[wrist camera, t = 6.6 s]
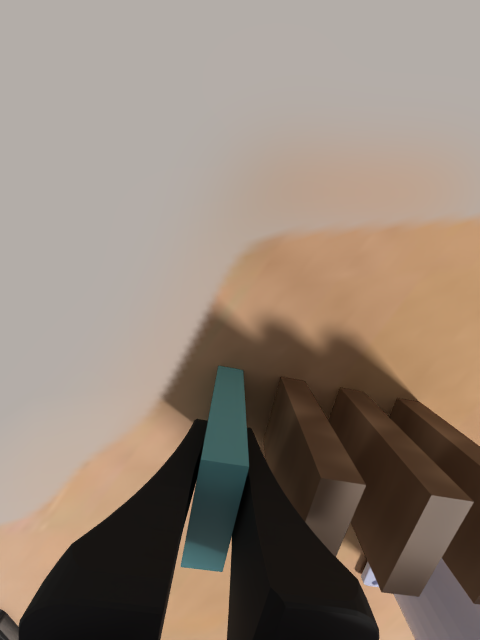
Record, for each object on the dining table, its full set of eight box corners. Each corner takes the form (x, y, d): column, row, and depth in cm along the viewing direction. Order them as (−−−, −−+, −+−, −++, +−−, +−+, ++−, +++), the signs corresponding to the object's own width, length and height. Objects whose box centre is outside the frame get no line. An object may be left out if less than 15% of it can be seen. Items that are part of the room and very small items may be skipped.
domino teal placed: (243, 369, 14) (249, 466, 7) (228, 435, 15) (222, 571, 8) (218, 365, 14) (200, 459, 7) (205, 431, 15) (180, 567, 8)
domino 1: (304, 381, 14) (366, 485, 8) (285, 444, 15) (323, 585, 9) (280, 376, 14) (321, 478, 7) (263, 441, 15) (284, 579, 9)
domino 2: (363, 391, 15) (473, 501, 8) (340, 453, 16) (419, 597, 9) (340, 387, 14) (431, 495, 8) (318, 450, 16) (381, 592, 9)
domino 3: (419, 402, 15) (575, 517, 8) (393, 462, 16) (509, 607, 9) (397, 397, 15) (535, 511, 8) (372, 459, 16) (473, 603, 9)
